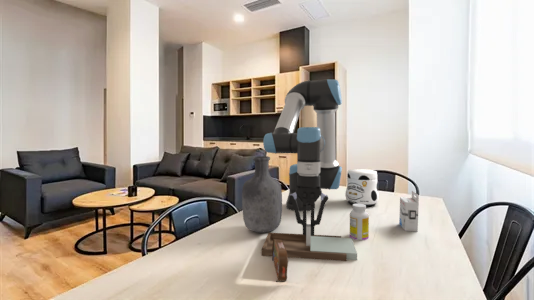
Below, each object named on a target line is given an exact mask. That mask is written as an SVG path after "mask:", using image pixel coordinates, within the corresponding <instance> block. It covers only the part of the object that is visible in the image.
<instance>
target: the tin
mask: <svg viewBox="0 0 534 300" xmlns="http://www.w3.org/2000/svg"><path fill="white" fill-rule="evenodd" d="M271 260H272V262H273V264H274V269H275V273H276V277H277V279H276V281H275V282H286V281H287V279H288V268H289V258H288V256H287V251H286V248H285V245H284V243H283V241H282V240H278V239H274V240H273V245H272V256H271Z"/></svg>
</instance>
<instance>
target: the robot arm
mask: <svg viewBox="0 0 534 300" xmlns="http://www.w3.org/2000/svg"><path fill="white" fill-rule="evenodd" d="M340 86H341V85H340V82H339V80H338V79H329V78H327V79H318V80H316V79H315V80H304V81H301V82H299V83H297V84H296V85H294V86H293V87H292V88H290V90H289V91H288V92H287V94H286V95H285V98H284V106H283V107H282V111H281V114H280V116H279V118H278V120H277V122H276V126H275V128H274V131H273V132H269V133H265V135H264V136H263V142H262V143H263V149H264V151H265V152H266V153H267V154H268V153H269V154H270V153H271V154H296V155H297V158H296V159H297V160H296V163H295V164H292V165H290V166H289V170H288V171H289V173H288V176H289V178H288V181H289V182H288V183H289V192H288V196H287V199H286V203H285V206H286V208H287V210H288V209H289V210H290V209H291V210H290V211H294V214H295V219H296V222H297V224H298V225H301V226H302V234H303V235H306V246H311V235H312V236H314V235H315V226H318V225H320V224H321V220H322V217H323V213H324V210H325V206H326V203H327V202H328V200H329V196H328V194H324V193H323V191H322V189H323V190H329V191H330V190H338V189H339V188H340V184H341V178H342V170H343V167H342V166H340V163H339V161H338V160H336V157H337V156H336V152H337V151H336V150H337V149H336V148H337V147H336V145H337V143H336V112H337V111H338V110H339V106H340V105H342V103H343V100H342V93H341V92H342V91H341V87H340ZM311 106H312V109H313V111H314V112H315V113H316V127H315V126H311V127H310V126H307V127H305V126H302V127H299V128H297V132H295V130H296V127H297V124H298V123H297V122H298V120H299V117H300V115H301V111H302V110H303V109H304V107H311ZM318 199H320V204H319V207H318V212H317V215H316V219H315V209H316V202H317V200H318ZM308 211H310V223H307V220H308V219H307V218H308V217H307V212H308ZM300 212H302V216H301V213H300Z"/></svg>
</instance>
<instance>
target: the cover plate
mask: <svg viewBox="0 0 534 300" xmlns="http://www.w3.org/2000/svg"><path fill="white" fill-rule="evenodd" d="M353 240H354V239H353V238H351V237H341V238H339V237H320V236H311V247H310V251H314V252H331V253H346V254H347V259H346V260H351V261H354V260H355V261H358V252H357V248H356V246H355V243H354V241H353Z"/></svg>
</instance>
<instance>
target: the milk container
mask: <svg viewBox="0 0 534 300" xmlns="http://www.w3.org/2000/svg"><path fill="white" fill-rule="evenodd" d="M346 175H347V176H346V177H347V178H346V179H347V181H346V183H347V184H346V190H345V193H344V194H345V200H346V201H347V203H349V204H351V205H353V204H364V205H366V207H368V206H369V207H370V206H375V205H376V204H378V202H379V198H380V193H379V190H378V171H376V170H372V169H361V168H359V169H357V168H356V169H348V170H347V174H346Z"/></svg>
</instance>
